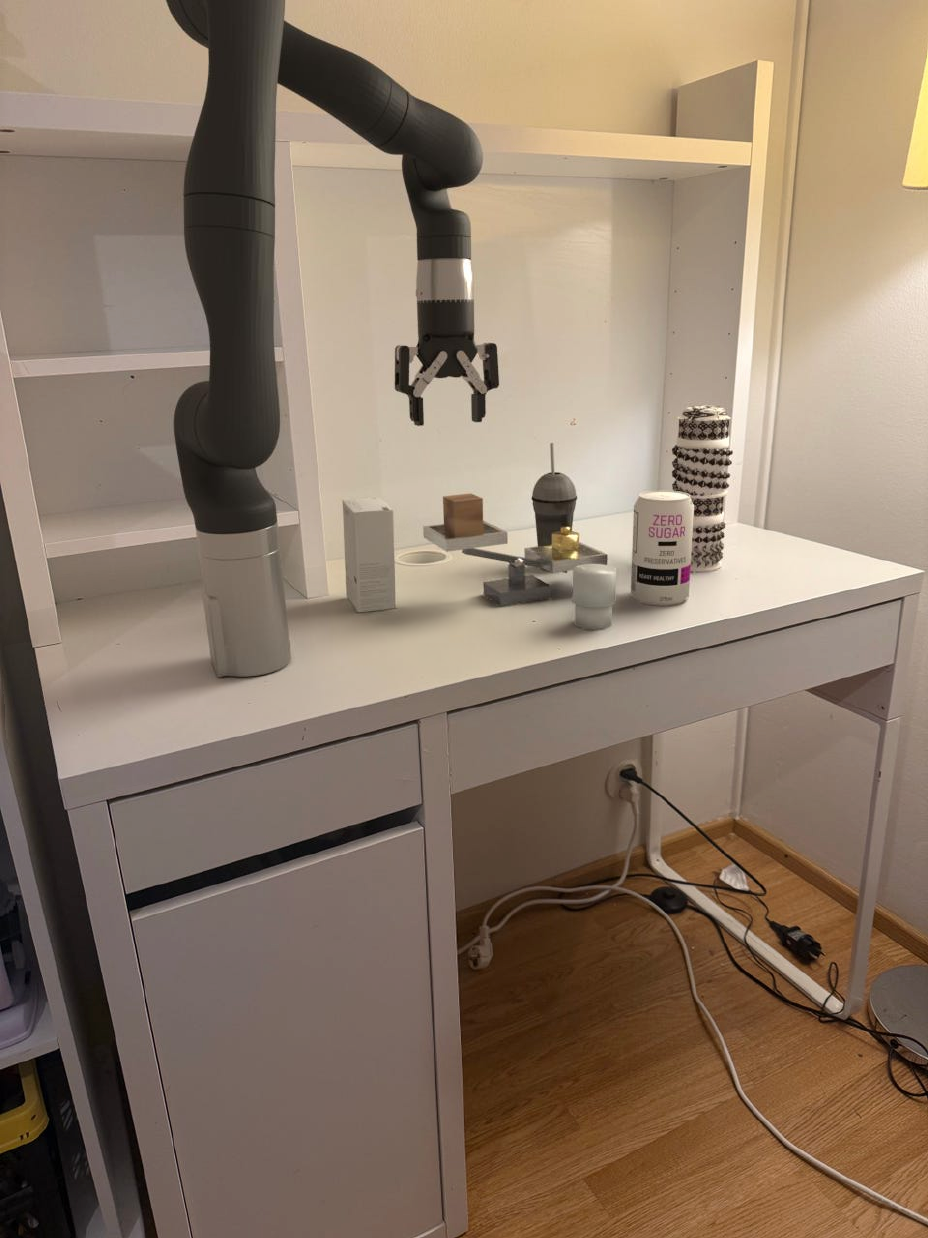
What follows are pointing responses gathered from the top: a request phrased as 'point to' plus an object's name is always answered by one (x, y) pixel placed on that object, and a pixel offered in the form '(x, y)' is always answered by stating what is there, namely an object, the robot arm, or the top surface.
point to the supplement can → (662, 547)
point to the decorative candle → (704, 479)
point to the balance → (520, 560)
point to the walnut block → (462, 515)
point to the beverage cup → (553, 504)
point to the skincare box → (369, 554)
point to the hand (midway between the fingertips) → (448, 423)
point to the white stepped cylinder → (594, 595)
